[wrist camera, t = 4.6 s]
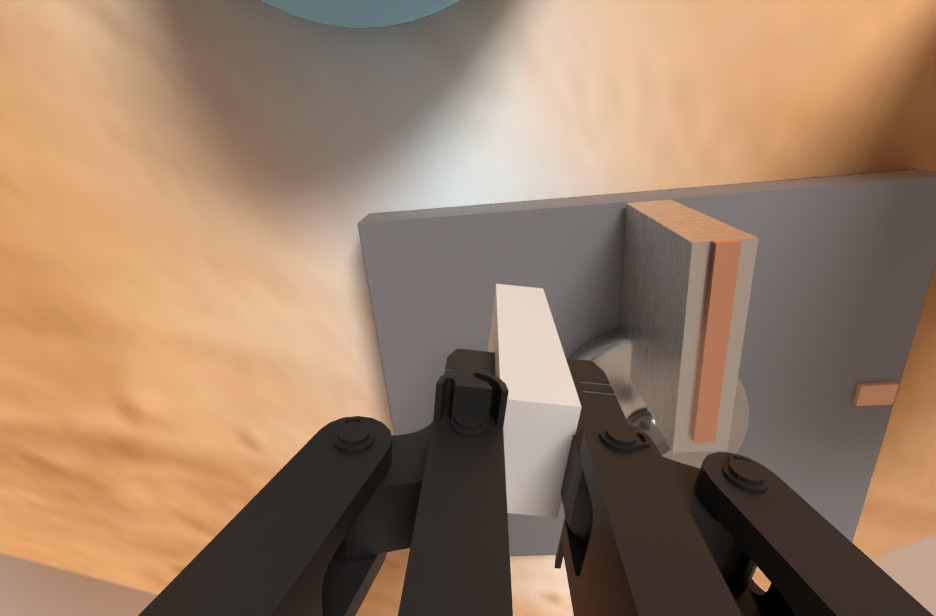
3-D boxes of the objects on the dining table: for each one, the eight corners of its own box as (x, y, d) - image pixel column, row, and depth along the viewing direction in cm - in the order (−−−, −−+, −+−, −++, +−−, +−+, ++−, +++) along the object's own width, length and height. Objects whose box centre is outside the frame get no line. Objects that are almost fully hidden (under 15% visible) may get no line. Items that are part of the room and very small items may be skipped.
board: (421, 528, 27) (416, 562, 25) (369, 213, 20) (356, 224, 18) (824, 514, 25) (854, 549, 23) (913, 169, 18) (966, 175, 16)
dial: (719, 475, 22) (803, 603, 16) (547, 482, 22) (568, 608, 16) (760, 192, 17) (901, 229, 11) (538, 209, 17) (564, 254, 12)
